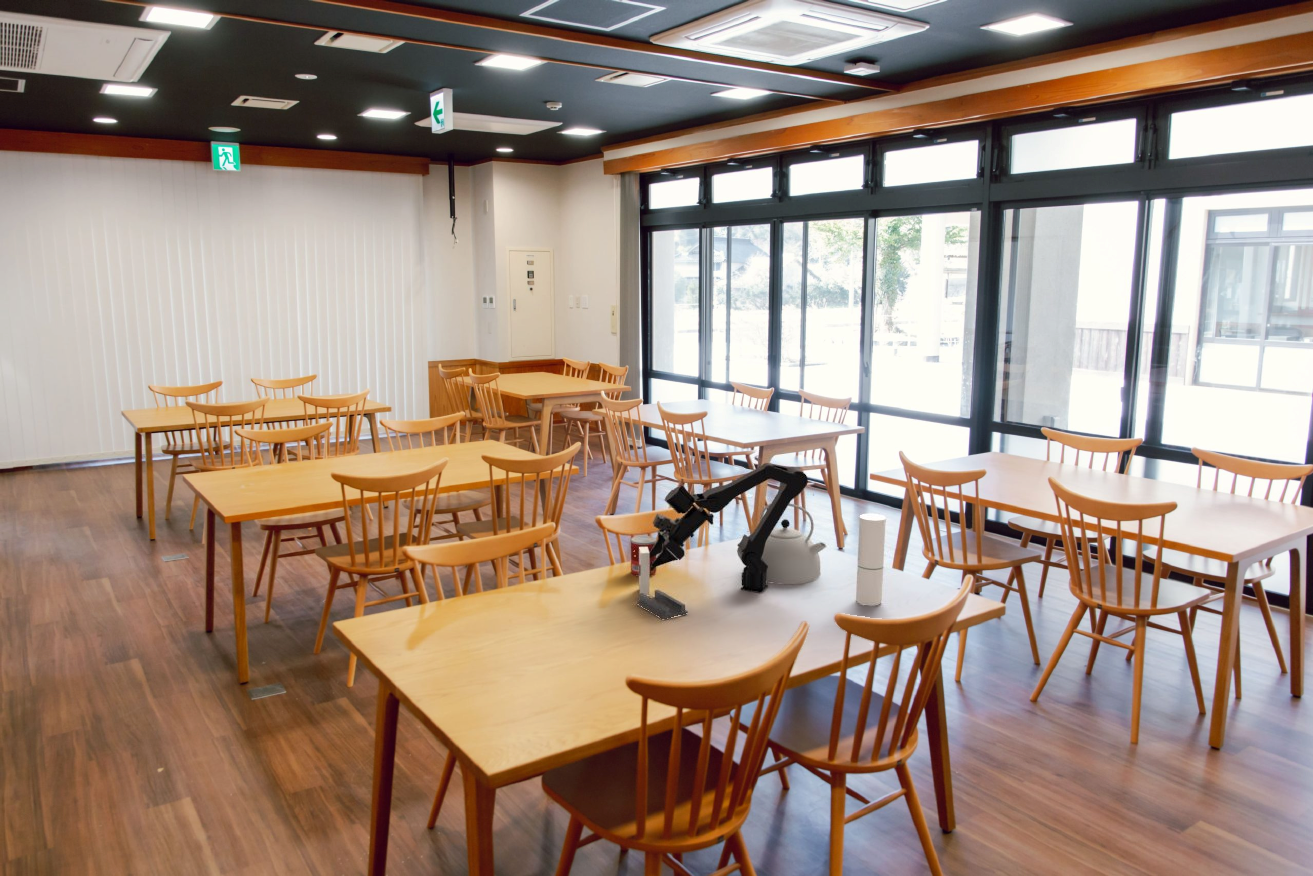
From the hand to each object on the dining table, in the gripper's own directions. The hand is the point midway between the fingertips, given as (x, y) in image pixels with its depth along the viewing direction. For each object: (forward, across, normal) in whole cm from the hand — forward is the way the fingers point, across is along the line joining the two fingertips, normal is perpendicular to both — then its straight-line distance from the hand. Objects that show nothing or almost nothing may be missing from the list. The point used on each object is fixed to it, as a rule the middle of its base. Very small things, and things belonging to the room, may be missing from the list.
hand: (650, 561), depth 262 cm
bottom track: (+5, +14, +8) cm, 17 cm away
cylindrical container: (-37, +14, +50) cm, 64 cm away
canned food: (+7, -17, +7) cm, 20 cm away
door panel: (+8, 0, +5) cm, 10 cm away
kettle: (-25, -13, +38) cm, 47 cm away
